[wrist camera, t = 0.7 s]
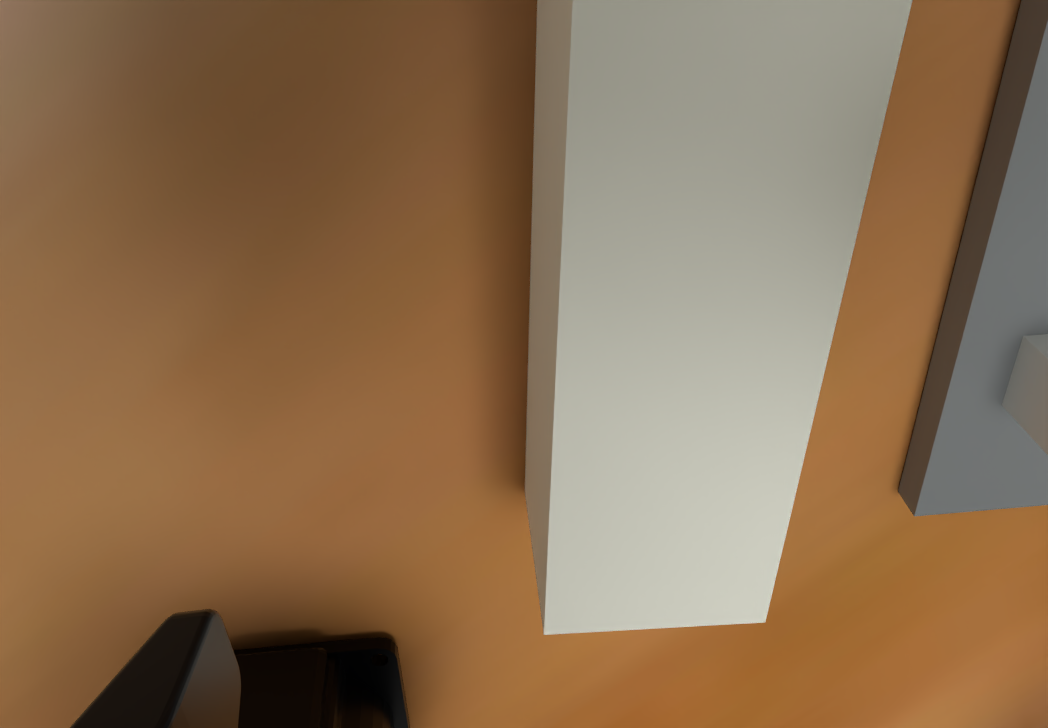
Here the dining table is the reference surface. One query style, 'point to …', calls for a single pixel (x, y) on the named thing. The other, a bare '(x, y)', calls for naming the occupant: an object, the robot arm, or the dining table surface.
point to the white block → (687, 289)
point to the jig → (995, 314)
